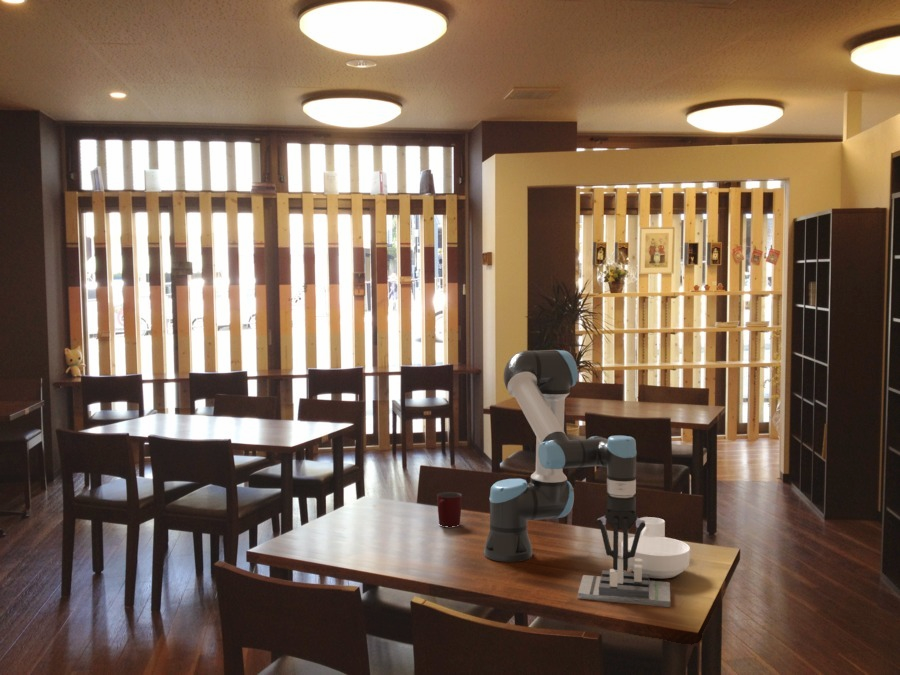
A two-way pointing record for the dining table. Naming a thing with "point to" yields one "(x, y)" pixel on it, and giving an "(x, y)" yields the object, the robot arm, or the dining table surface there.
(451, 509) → the mug
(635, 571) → the block
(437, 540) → the dining table surface
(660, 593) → the panel
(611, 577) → the breaker near
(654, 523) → the mug
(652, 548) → the bowl
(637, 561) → the breaker far
